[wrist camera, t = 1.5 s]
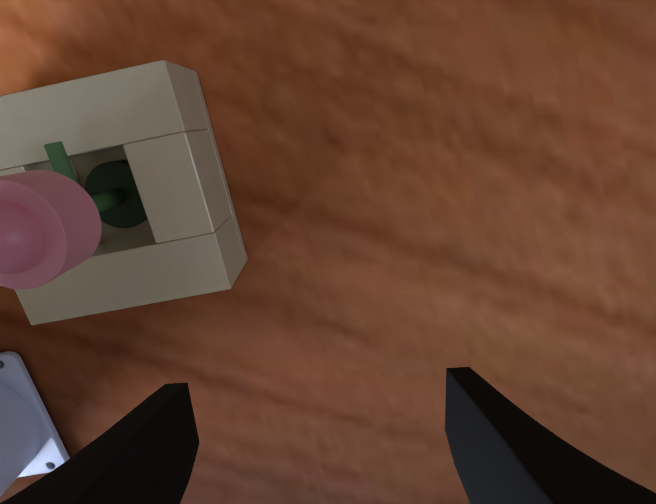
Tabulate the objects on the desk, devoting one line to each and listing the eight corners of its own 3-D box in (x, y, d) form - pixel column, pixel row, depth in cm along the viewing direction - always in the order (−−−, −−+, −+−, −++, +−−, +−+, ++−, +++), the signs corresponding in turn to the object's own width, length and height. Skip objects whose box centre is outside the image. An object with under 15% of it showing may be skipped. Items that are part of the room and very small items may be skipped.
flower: (106, 233, 20) (-52, 315, 12) (73, 145, 19) (-131, 167, 10) (174, 220, 20) (61, 293, 11) (145, 130, 18) (-5, 140, 10)
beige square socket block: (81, 291, 22) (30, 326, 18) (6, 112, 19) (-70, 110, 15) (248, 259, 21) (231, 289, 17) (196, 70, 18) (164, 58, 15)
